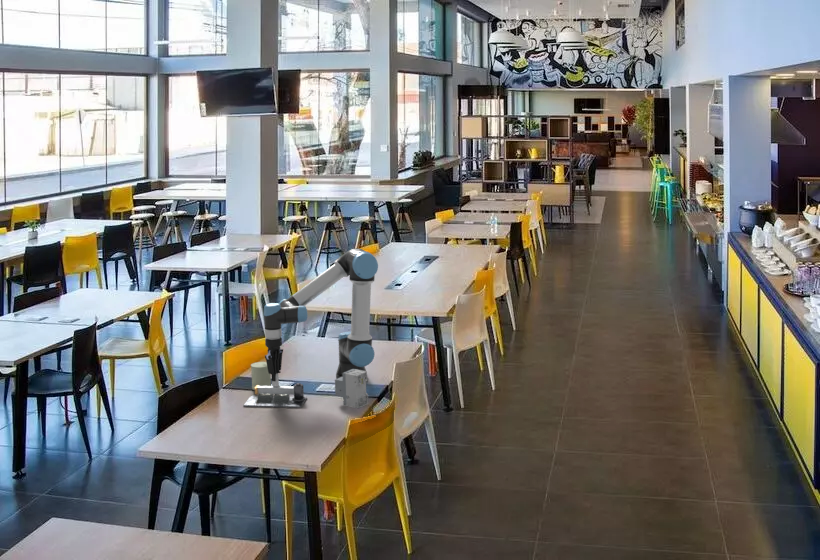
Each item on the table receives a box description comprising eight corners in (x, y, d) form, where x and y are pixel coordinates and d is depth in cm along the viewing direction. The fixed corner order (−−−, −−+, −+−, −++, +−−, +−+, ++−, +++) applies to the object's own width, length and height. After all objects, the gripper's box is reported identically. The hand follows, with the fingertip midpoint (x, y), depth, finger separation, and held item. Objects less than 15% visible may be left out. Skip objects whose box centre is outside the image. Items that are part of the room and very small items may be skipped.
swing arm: (304, 396, 427) (304, 382, 425) (302, 399, 422) (302, 385, 421) (257, 395, 429) (256, 381, 428) (255, 398, 425) (254, 384, 423)
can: (262, 392, 438) (261, 367, 435) (247, 389, 442) (246, 364, 440) (275, 386, 445) (274, 362, 443) (260, 383, 450) (259, 359, 448)
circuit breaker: (343, 398, 427) (342, 366, 424) (368, 403, 419) (367, 371, 416) (332, 402, 421) (331, 370, 418) (358, 408, 413) (357, 375, 410)
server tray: (306, 398, 427) (306, 392, 427) (300, 408, 415) (300, 401, 414) (251, 397, 430) (251, 391, 430) (243, 406, 418) (243, 400, 417)
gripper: (273, 333, 433) (275, 382, 437) (258, 340, 421) (261, 390, 425) (287, 334, 430) (289, 383, 434) (273, 341, 418) (275, 392, 423)
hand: (275, 387), depth 430 cm, fingers closed
